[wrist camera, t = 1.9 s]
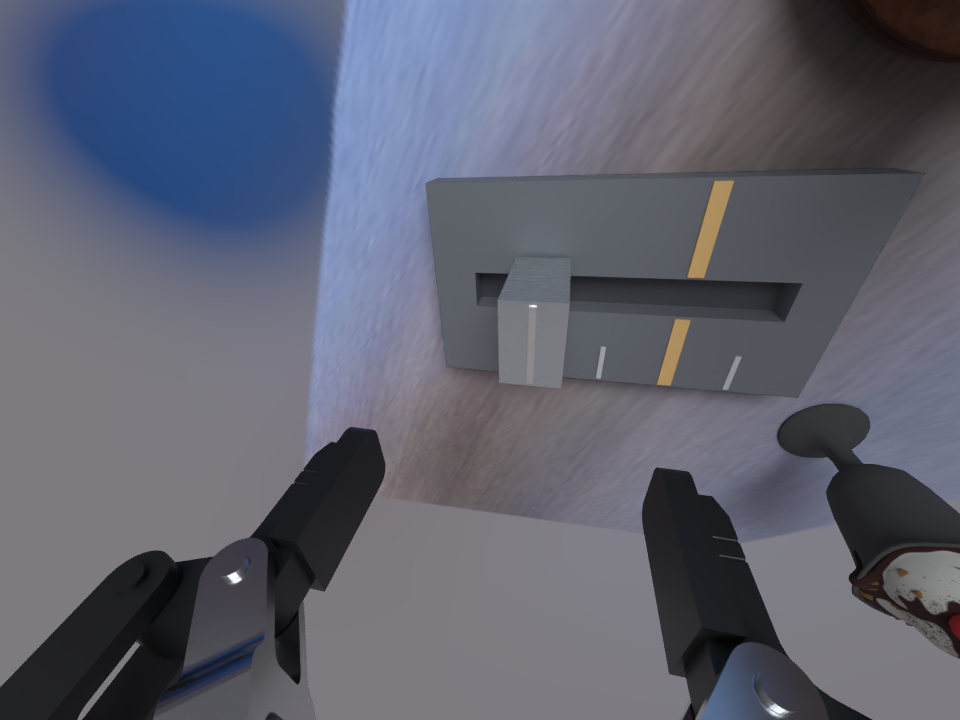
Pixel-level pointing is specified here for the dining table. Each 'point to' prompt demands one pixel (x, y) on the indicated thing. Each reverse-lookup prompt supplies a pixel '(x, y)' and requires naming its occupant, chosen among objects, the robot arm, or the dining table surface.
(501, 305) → the fader tab
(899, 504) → the sundae
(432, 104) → the dining table surface
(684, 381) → the slider plate with stripes
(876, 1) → the scroll
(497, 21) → the dining table surface
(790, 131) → the dining table surface
